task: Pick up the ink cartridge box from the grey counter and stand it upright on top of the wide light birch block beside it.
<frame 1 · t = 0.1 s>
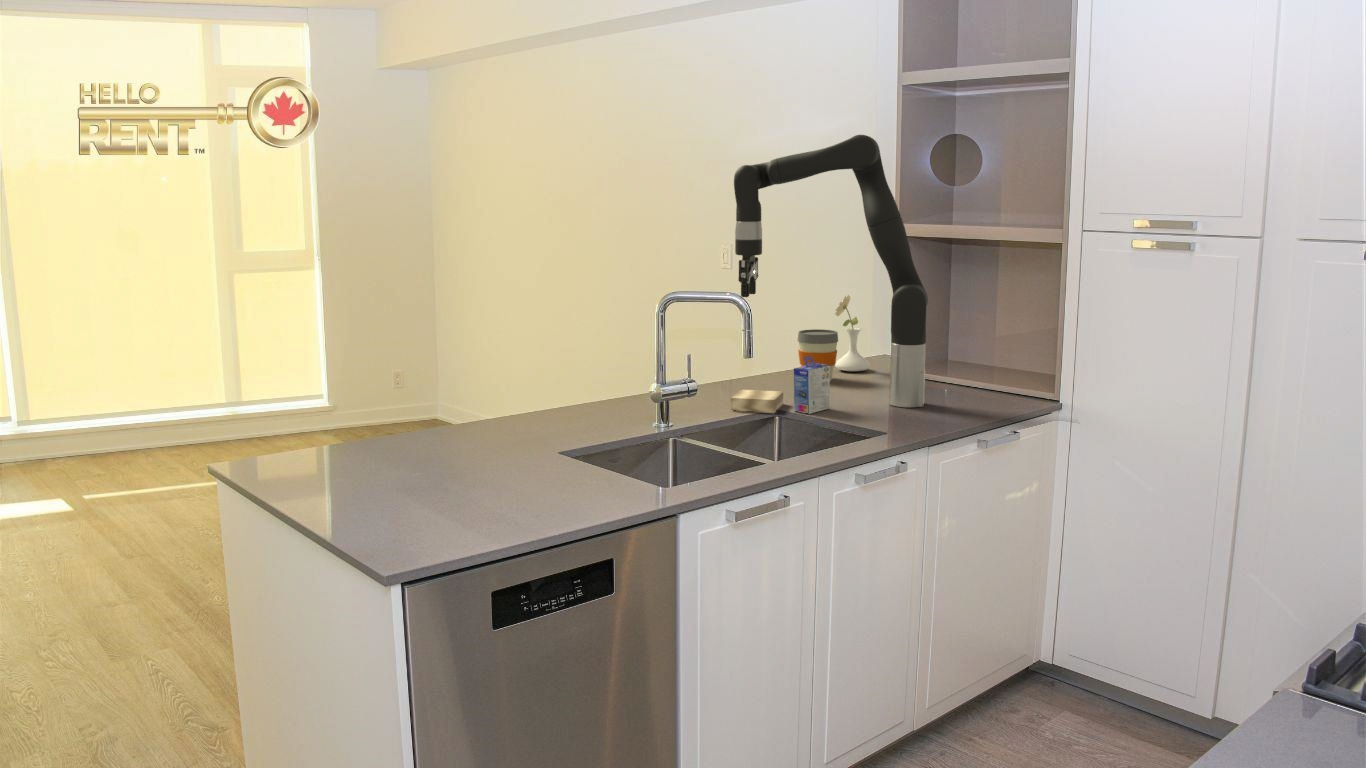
hand: (748, 295, 298), 29 cm above the worktop, fingers open, 8 cm apart
birch block: (757, 408, 288), on the worktop
reusable coffee cup: (817, 380, 328), on the worktop
flower in vase: (850, 371, 343), on the worktop
ink cartridge box: (811, 411, 284), on the worktop
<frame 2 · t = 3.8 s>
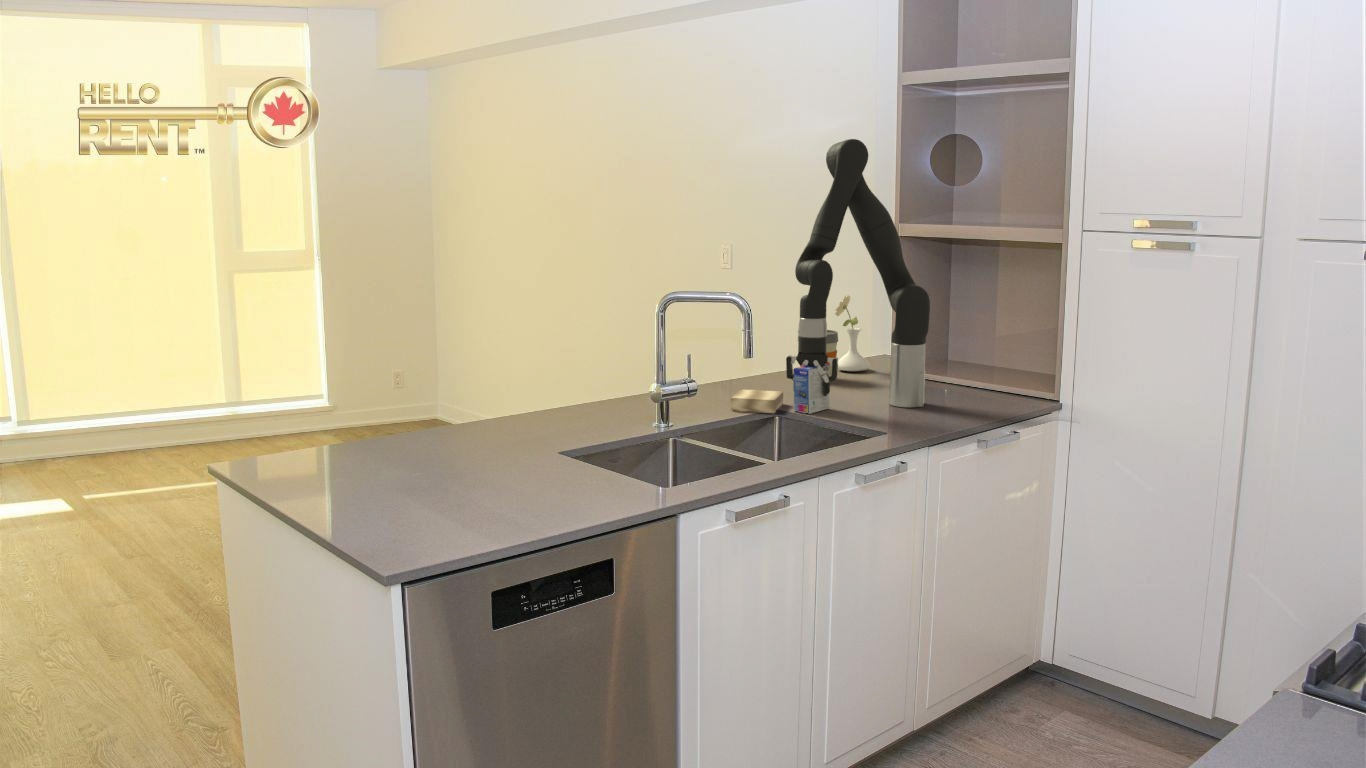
hand: (811, 394, 283), 4 cm above the worktop, fingers closed on ink cartridge box, 7 cm apart
ink cartridge box: (811, 411, 284), on the worktop, touching gripper
everything else where it was.
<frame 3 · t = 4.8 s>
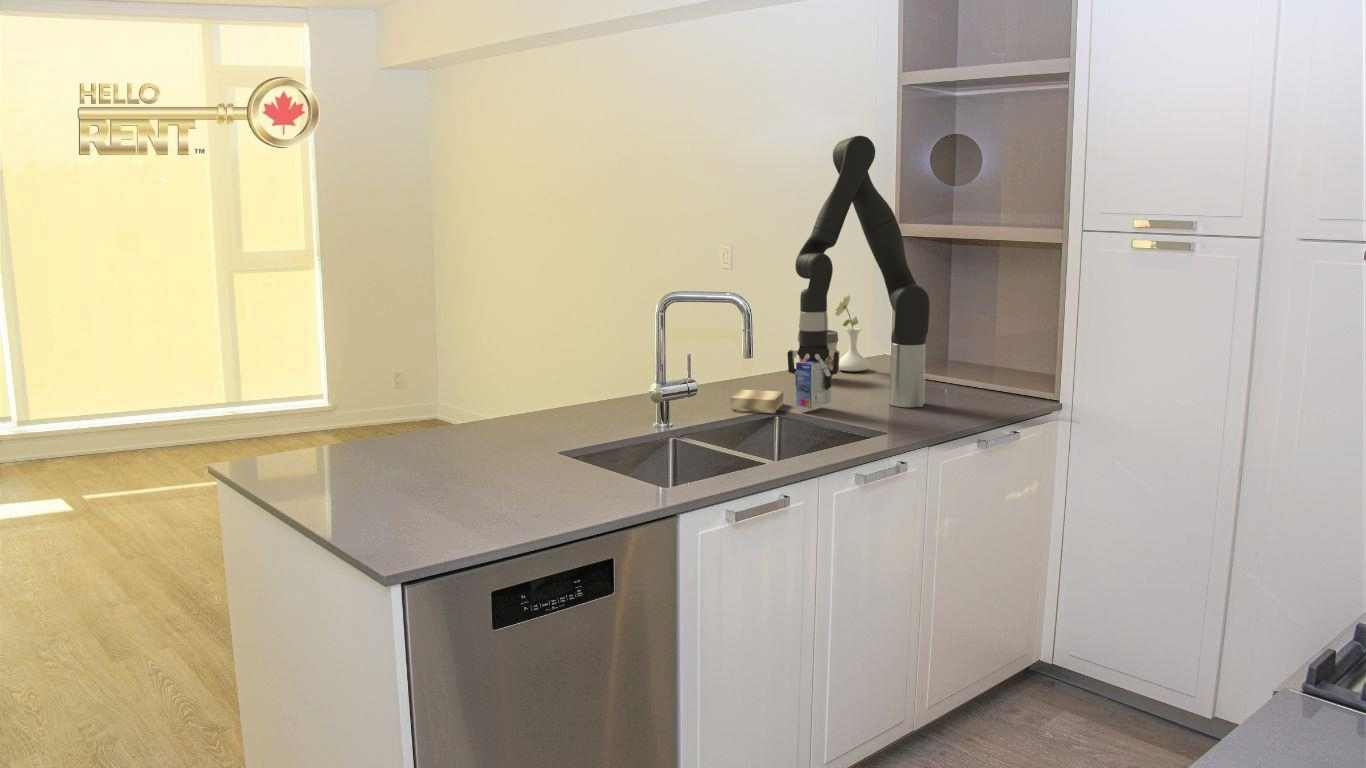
hand: (813, 388, 283), 6 cm above the worktop, fingers closed on ink cartridge box, 7 cm apart
ink cartridge box: (813, 405, 284), point 1 cm above the worktop, touching gripper
everything else where it was.
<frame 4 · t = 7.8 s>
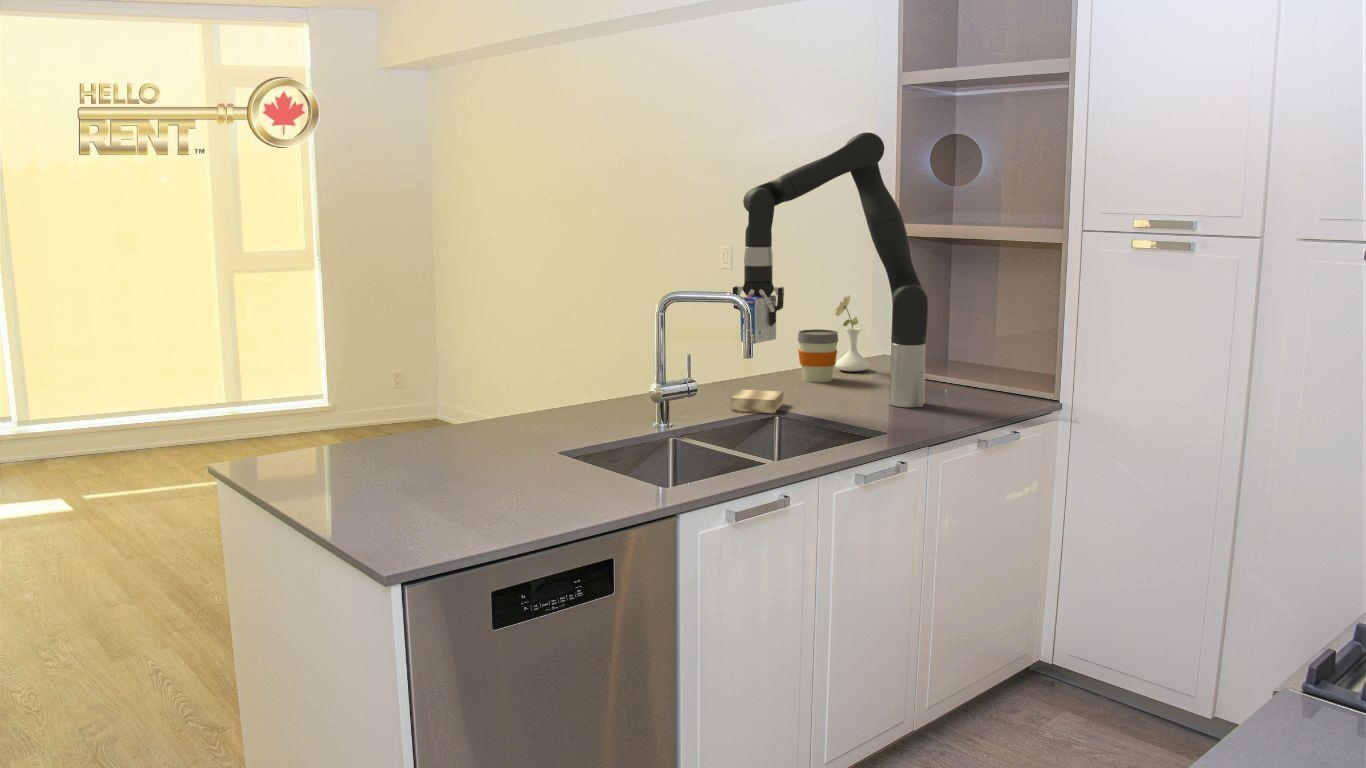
hand: (758, 325, 284), 23 cm above the worktop, fingers closed on ink cartridge box, 7 cm apart
ink cartridge box: (757, 341, 285), point 18 cm above the worktop, touching gripper
everything else where it was.
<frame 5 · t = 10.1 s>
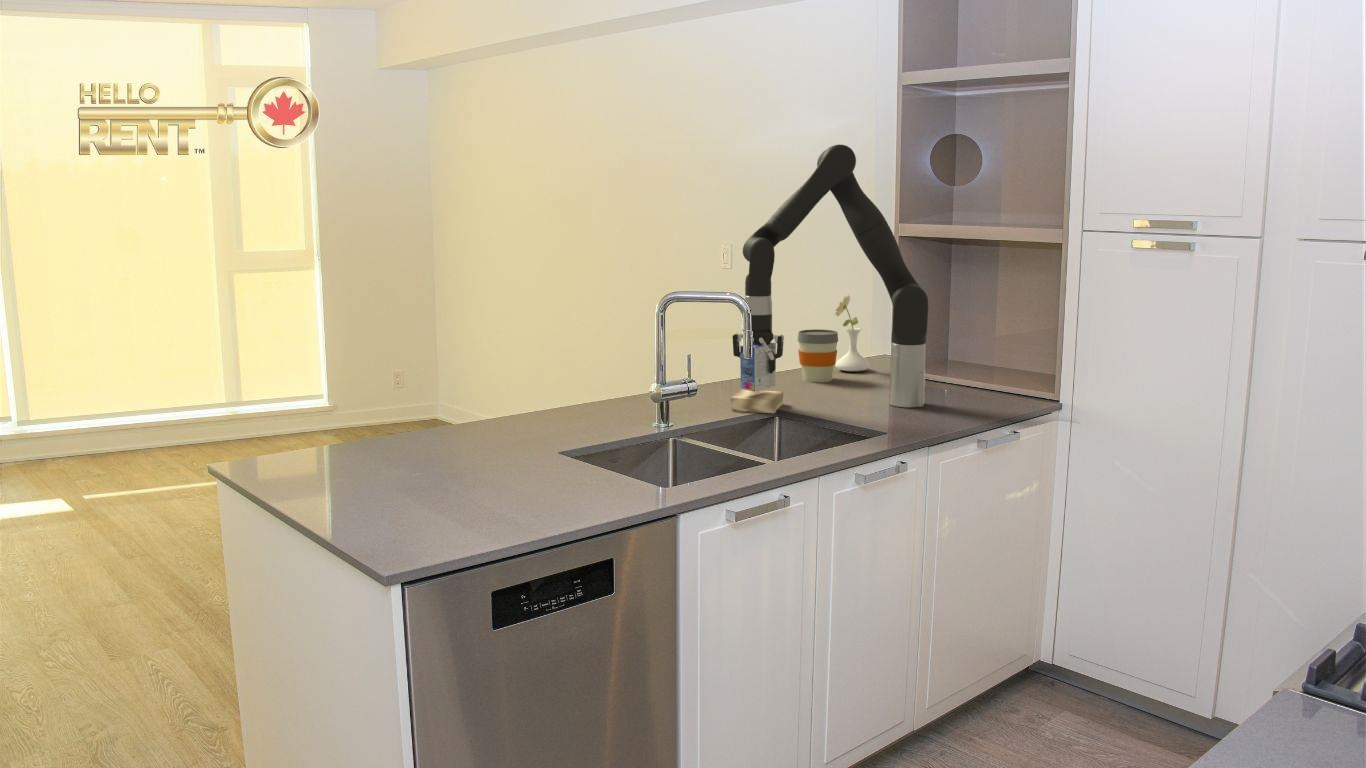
hand: (757, 372, 287), 10 cm above the worktop, fingers closed on ink cartridge box, 7 cm apart
ink cartridge box: (757, 388, 288), point 5 cm above the worktop, touching gripper
everything else where it was.
when the fingers open (10 cm above the worktop, at t = 11.0 s): ink cartridge box drops 2 cm, resting on birch block.
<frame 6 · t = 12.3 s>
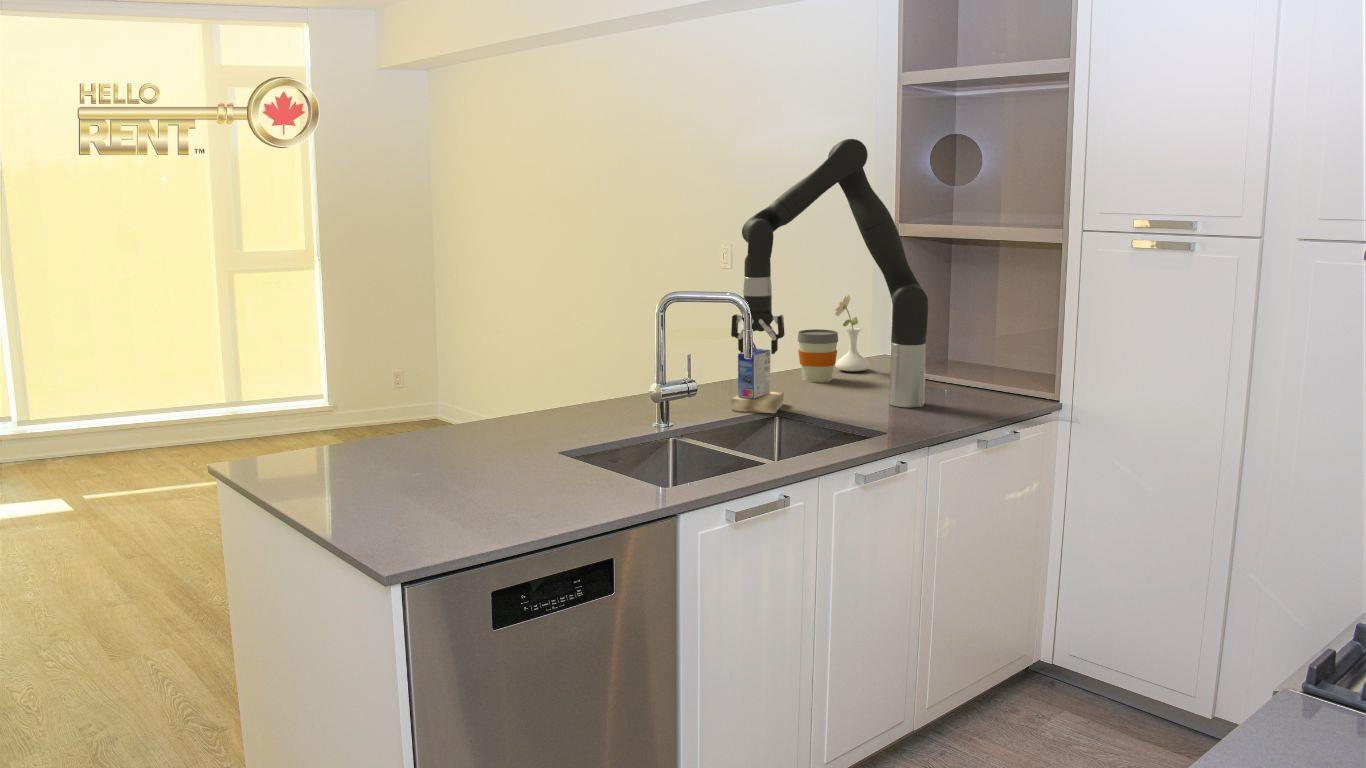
hand: (757, 353, 285), 15 cm above the worktop, fingers open, 8 cm apart
birch block: (757, 409, 288), on the worktop, touching ink cartridge box
ink cartridge box: (753, 395, 288), point 3 cm above the worktop, touching birch block, gripper
everything else where it was.
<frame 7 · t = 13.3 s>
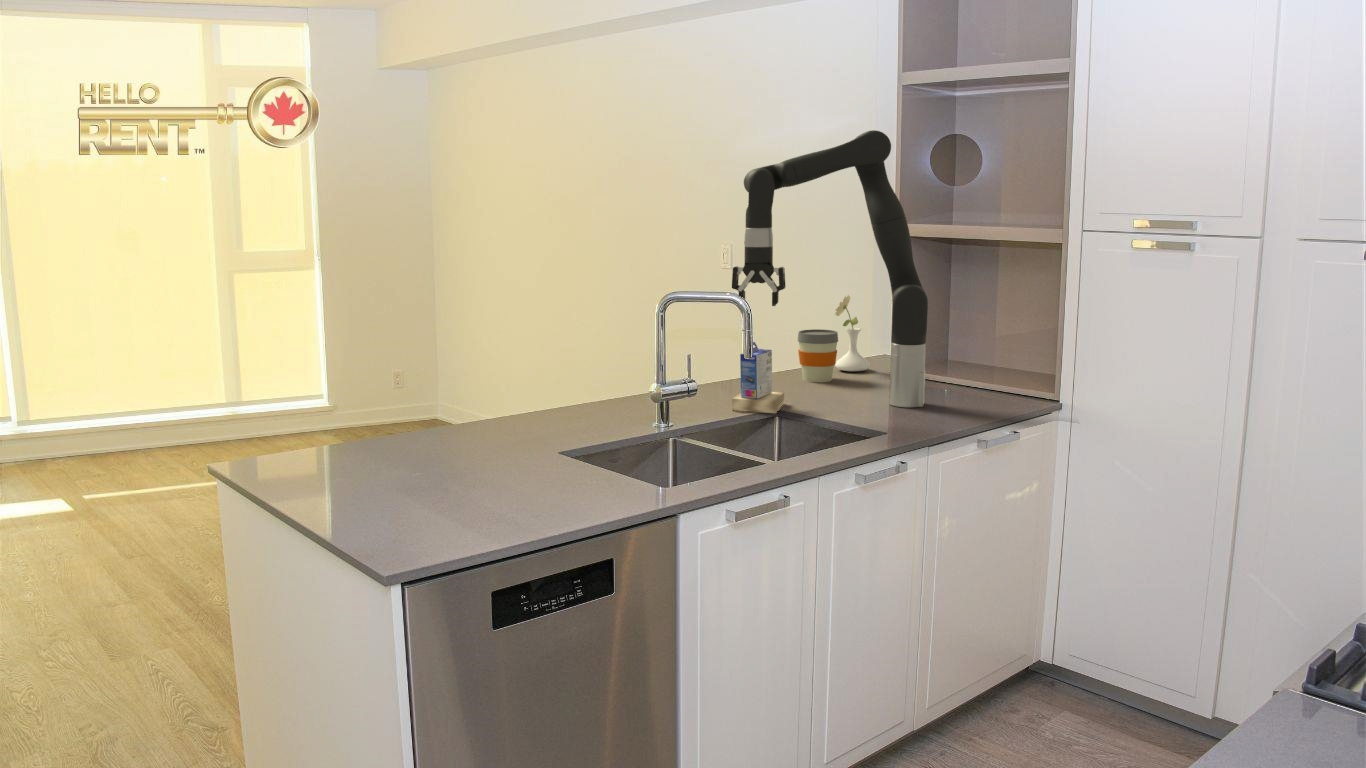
hand: (758, 305, 283), 28 cm above the worktop, fingers open, 8 cm apart
ink cartridge box: (756, 396, 288), point 3 cm above the worktop, touching birch block
everything else where it was.
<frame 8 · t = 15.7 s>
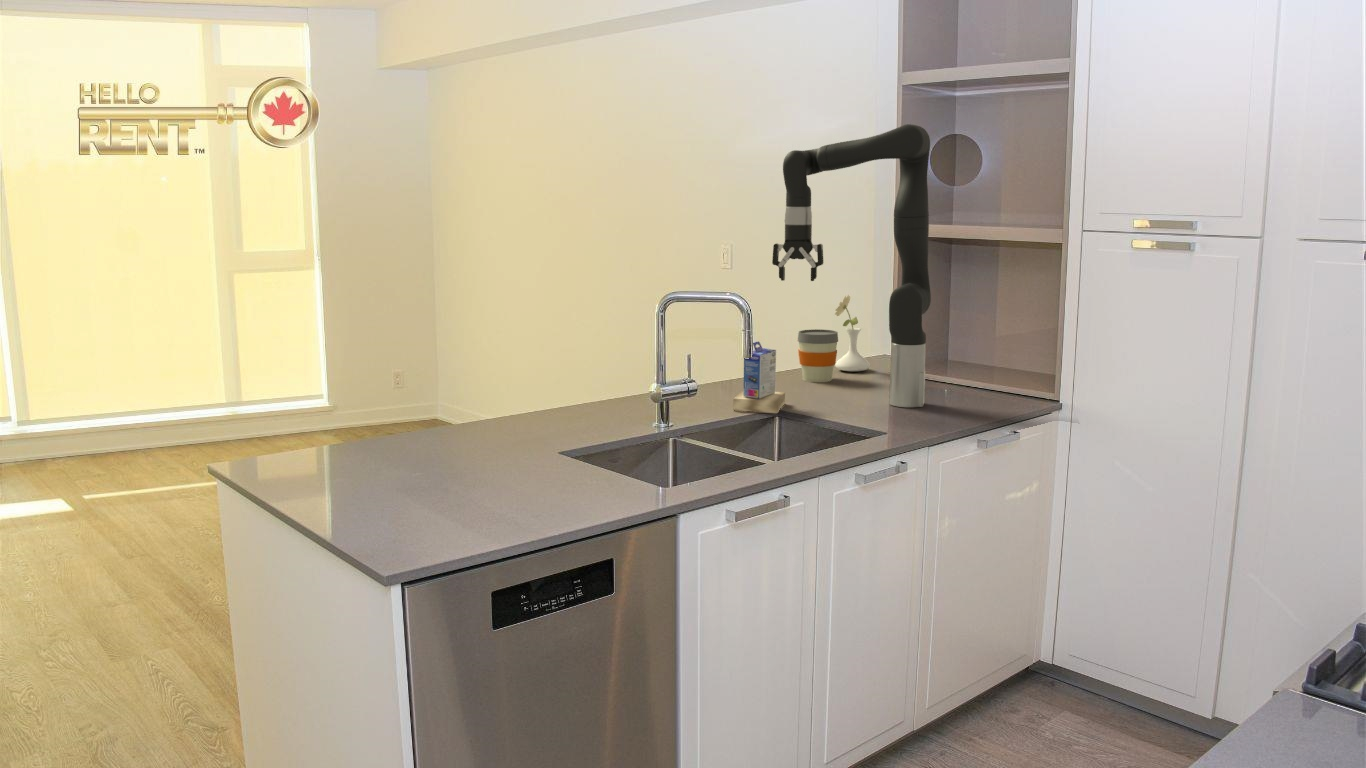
hand: (797, 280, 299), 33 cm above the worktop, fingers open, 8 cm apart
at the end: ink cartridge box inside the target area on the birch block (0.3 cm from its centre), point 3.9 cm above the birch block's base; ink cartridge box tilted 3°; ink cartridge box touching birch block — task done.
